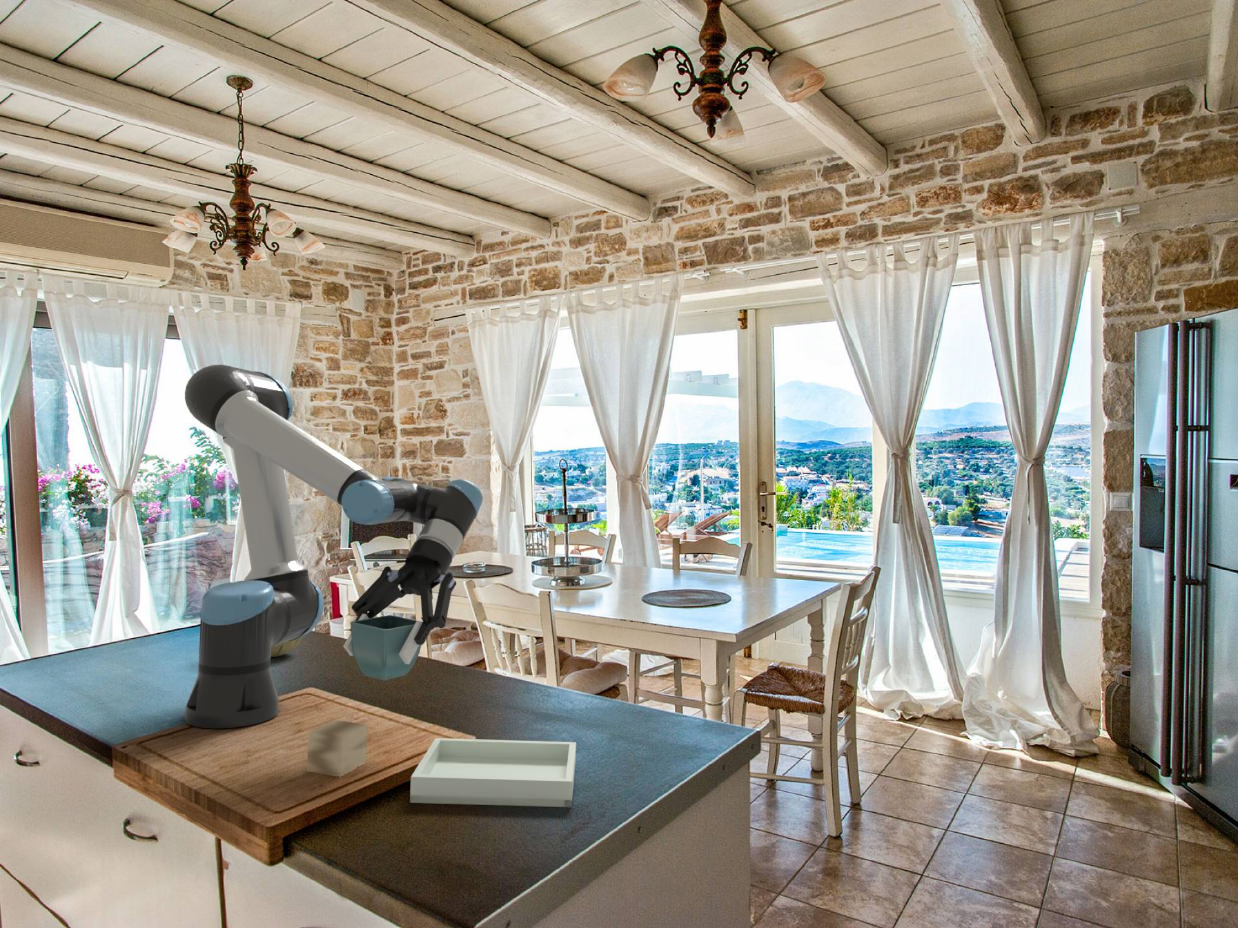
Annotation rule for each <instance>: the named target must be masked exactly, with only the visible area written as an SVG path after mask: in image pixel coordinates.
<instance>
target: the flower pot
mask: <svg viewBox="0 0 1238 928" xmlns="http://www.w3.org/2000/svg"><path fill="white" fill-rule="evenodd" d="M416 621H417V620H415V619H411V618H407V617H402V616H398V615H393V614H392V615H391V614H386V615H380V616H375V617H374V618H369V619H364V620H358V621H355V620H353V621H350V624H349V625H350V628H351V631H350V634H351V637H352V648H353V653H354V656H353V657H354V659H355V662H356V664H357V666H358V668H359V669H360V671H361V672H362V674H363V675H364V676H366V677H371V678H374V679H376V680H381V681H388V680H391V679H395V678H399V677H403V676H406V675H408V673H409V672H410V671H411V669H412V668H413V667H414V664H415V663H416V661H417V659H418V657H419V655H420V652H421V649H422V645H419V646H418V648H417V650H416V652H415V654H414V656H413V658H412V660H411V662H410V664H405V663H404V661H403V660H402V658H401V657H400V655H399V653H400V651H401V649H402V647H403V646H404V644H405V642H406V640H407V638H408V636H409V634H410V633H411V631H412V629H413V627H414V625H415V623H416ZM421 622H422V623H423V621H421Z"/></svg>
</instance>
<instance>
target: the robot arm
mask: <svg viewBox="0 0 1238 928" xmlns="http://www.w3.org/2000/svg"><path fill="white" fill-rule="evenodd" d="M287 387H288V386H286V385H285V384H284V383H283V382H282V381H281V380H279V379H278V378H276V377H274V376H271V375H269V374H267V373H265V372H261V371H257V370H256V371H253V370H248V369H245V368H241V367H235V366H231V365H226V364H211V365H208V366H207V365H206V366H205V367H203V368H200V369H199V370H197V371H195V373H193V375H192V376H191V377H190V378H189V379H188V381H187V384H186V386H185V390H184V399H185V405H186V407H187V408H188V411H189V413H190V414H191V415H192V416H193V418H194V419H196V420H197V421H198V422H200V424H202V425H204V426H205V427H207V428H208V429H210V430H212V431H213V432H214V433H216V434H218V435H219V436H221V437H222V440H223V441H222V442H223V443H224V444H226V445H227V446H228V447H230V448H231V450H233V458H234V463H235V470H236V477H237V478H236V479H237V485H238V491H239V498H240V504H241V510H242V515H243V516H242V519H243V523H244V530H245V537H246V542H247V549H248V557H249V563H250V571H249V572H248V573H247V575H246V576H245V578H243V579H244V580H238V581H235V582H225V583H221V584H218V585H214V586H213V587H211V588H209V589H208V590H206V592H204V594H203V596H202V599H201V600H202V601H201V606H200V609H199V618H200V619H199V621H200V623H199V627H200V628H199V647H198V648H199V651H198V671H197V672H198V673H197V678H196V680H195V682H194V685H193V687H192V690H191V692H190V695H189V698H188V700H187V702H186V705H185V710H184V722H185V723H186V724H187V725H190V726H193V727H197V728H204V729H231V728H239V727H240V728H241V727H247V726H252V725H256V724H260V723H263V722H267V721H269V720H272V719H273V718H275V717H276V716H278V714H279V710H280V700H279V699H280V698H279V695H278V692H277V689H276V685H275V682H274V680H273V676H272V673H271V659H272V657H271V647H272V646H275V645H278V644H281V643H284V642H287V641H292V640H296V639H298V638H300V637H302V636H303V637H304V636H305V635H307V634H309V633H311V632H312V631H313V630H314V629H315V628H316V627H317V625H318V624H319V622H320V621H321V619H322V617H323V613H324V608H325V607H324V606H325V601H324V600H325V599H324V596H323V595H324V594H323V593H322V591H321V589H320V587H319V586H318V585H316V584H315V583H314V581H312V580H310V575H309V570H308V567H307V566H306V565H304V564H303V563H301V562H300V560H299V557H298V552H297V546H296V540H295V538H296V537H295V534H294V533H295V531H294V529H293V528H294V526H293V520H292V515H291V514H292V513H291V509H290V506H291V505H290V500H289V494H288V488H287V481H286V475H285V471H287V472H288V473H290V474H291V475H293V476H294V477H296V478H297V479H300V480H301V481H302V482H304V483H306V485H309V486H310V487H312V488H313V489H314V490H316V491H317V492H319V493H321V494H322V495H324V496H326V497H327V498H329V499H330V500H331V501H333V502H335V503H336V504H337V505H340V506H341V508H342V511H343V512H344V514H345V516H346V517H347V518H348V519H349V520H350V521H352V522H354V523H355V524H359V525H365V526H366V525H367V526H373V525H378V524H384V523H395V522H402V521H403V522H410V523H414V524H415V523H416V524H421V525H423V527H422V529H421V531H420V532H419V534H418V535H417V537H416V539H415V541H414V543H413V544H412V546H411V548H410V549H409V551H408V553H407V554H406V558H405V562H404V564H403V565H402V566H401V567H400V568H399V569H392V568H391V566H388V565H387V566H385V567H384V568H383V569H382V571H381V573H380V575H379V577H378V578H377V579H376V580H375V581H374V582H373V583H372V584H371V585H370V586H369V587H368V588H367V589H366V591H365V592H363V593H362V595H361V596H360V597H359V598H358V599H357V600H356V601H355V602H354V603H353V604H352V605H351V609H352V611H353V613H354V614H355V615H356V618H355V620H354V621H358V620H364V619H369V618H375V617H377V615H378V614H380V613H381V612H383V611H384V610H385V609H386V608H388V607H389V606H390V605H392V604H393V603H394V602H395V601H396V600H398V599H403V598H404V597H405V596H406V595H415V596H419V597H420V606H421V608H420V609H421V617H420V618H421V620H422V621H421V620H416V623H415V625H414V627H413V629H412V631H411V633H410V634H409V636H408V638H407V640H406V642H405V644H404V646H403V647H402V649H401V651H400V653H399V655H400V657H401V658H402V660H403V661H404V663H405V664H410V662H411V660H412V658H413V656H414V654H415V652H416V650H417V648H418V646H419V645H421V646H422V645H424V644H425V642H426V640H427V639H428V636H430V633H431V631H432V630H434V629H435V628H439V629H443V628H445V627H446V624H447V618H448V614H449V613H448V612H449V607H450V602H451V598H452V597H451V596H452V593H453V591H454V589H455V587H456V585H457V581H456V579H455V577H454V575H453V574H452V572H448V573H447V571H448V570H449V568H450V567H451V564H452V563H453V559H454V558H455V557H456V554H457V553H458V550H459V549H460V546H461V545H462V543H463V541H464V539H465V537H466V535H467V534H468V531H469V530H470V528H471V527H472V525H473V522H474V521H475V519H476V518H477V517H478V513H479V511H480V508H481V506H482V504H483V499H484V497H483V493H482V492H481V489H479V487H478V486H477V485H476V484H475V483H473V482H472V481H469V480H467V479H463V478H458V479H453V480H451V481H449V483H448V484H447V485H446V486H445V487H444V488H443V487H439V486H432V485H428V484H424V483H420V482H414V481H411V480H406V479H405V478H401V477H391V476H385V477H382V478H380V477H378V476H376V475H374V474H373V473H371V472H370V471H367V469H365V468H363V467H362V466H360V465H359V464H357V463H355V462H354V461H352V460H350V459H349V458H347V457H346V456H345V455H344V454H341V453H339V451H337V450H335V449H333V448H332V447H330V446H328V445H327V444H325V443H324V442H322V441H321V440H319V439H317V438H316V437H314V436H313V435H311V434H310V433H308V432H306V431H305V430H303V429H302V428H300V427H298V426H297V425H296V424H294V423H292V422H290V420H289V419H290V418H291V417H292V415H293V412H294V402H293V397H292V395H291V392H290V391H289V389H288V388H287ZM437 586H439V590H438V594H437V598H436V603H435V608H434V607H433V597H434V595H433V589H434V588H435V587H437ZM399 587H400V588H399ZM422 622H423V623H422ZM349 631H350V632H351V627H350V629H349ZM342 647H343V648H344V649H345V651H346V652H347V654H348V655H349V656H350V657H354V653H353V648H352V637H351V633H350V634H349V636H348V637H347V639H346V641H345V642H344V644H343V646H342Z"/></svg>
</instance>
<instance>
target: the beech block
mask: <svg viewBox="0 0 1238 928" xmlns="http://www.w3.org/2000/svg"><path fill="white" fill-rule="evenodd" d="M368 727H369V726H368V724H364V723H358V722H351V721H345V720H339V719H333V720H331V721H329V722H327V723H324V724H322V725H319V726H317V727H314V728H312V729H310V730H308V737H307V739H308V741H307V757H306V758H307V759H306V761H307V763H306V771H307V772H310V773H316V774H322V775H327V776H333V777H337V776H339V777H338V778H342V777H343V775H344V774H346V775H347V773H348V772H349V773H351V772H352V771H351V770H353V769H354V768H356V767H358V766H359V765H361V764H362V763H364V762H365V761H366V762H367V751H368V747H367V746H368V731H369V730H368ZM350 771H351V772H350ZM353 771H354V770H353ZM349 773H348V774H349ZM341 776H342V777H341ZM344 776H345V775H344Z"/></svg>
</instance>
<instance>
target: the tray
mask: <svg viewBox="0 0 1238 928" xmlns="http://www.w3.org/2000/svg"><path fill="white" fill-rule="evenodd" d="M576 753H577V742H575V741H544V740H543V741H542V740H541V741H540V740H512V739H511V740H509V739H482V738H481V739H479V738H477V739H475V738H442V737H436V738H434V740H433V741H432V743H431V745H430V746H429V748H428V750H426V752H425V754H424V756H423V757H422V759H421V761H420V762H419V764H418V765H417V766H416V767H415V770H414V772H413V773H412V774H411V776H410V791H409V792H410V794H409V803H412V804H442V805H443V804H444V805H446V804H447V805H449V804H450V805H475V806H476V805H478V806H479V805H482V806H485V805H487V806H513V807H514V806H517V807H545V808H546V807H547V808H548V807H550V808H551V807H552V808H553V807H554V808H557V807H558V808H572V805H573V794H574V785H575V784H574V783H575V773H576V772H575V771H576Z"/></svg>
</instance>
